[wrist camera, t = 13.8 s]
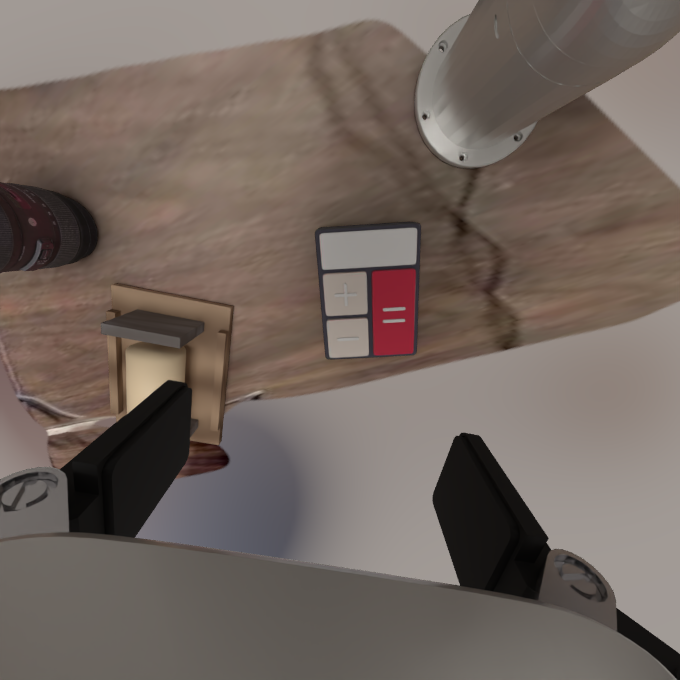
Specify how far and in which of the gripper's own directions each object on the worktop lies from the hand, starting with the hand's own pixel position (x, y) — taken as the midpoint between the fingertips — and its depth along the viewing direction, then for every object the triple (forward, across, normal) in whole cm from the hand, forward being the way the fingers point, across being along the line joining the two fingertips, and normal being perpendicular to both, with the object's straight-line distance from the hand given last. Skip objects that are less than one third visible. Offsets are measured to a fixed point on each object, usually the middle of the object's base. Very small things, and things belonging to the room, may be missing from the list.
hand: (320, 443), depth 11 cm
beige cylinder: (+24, +19, +15) cm, 34 cm away
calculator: (+29, -4, -1) cm, 29 cm away
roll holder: (+28, +19, +14) cm, 37 cm away
